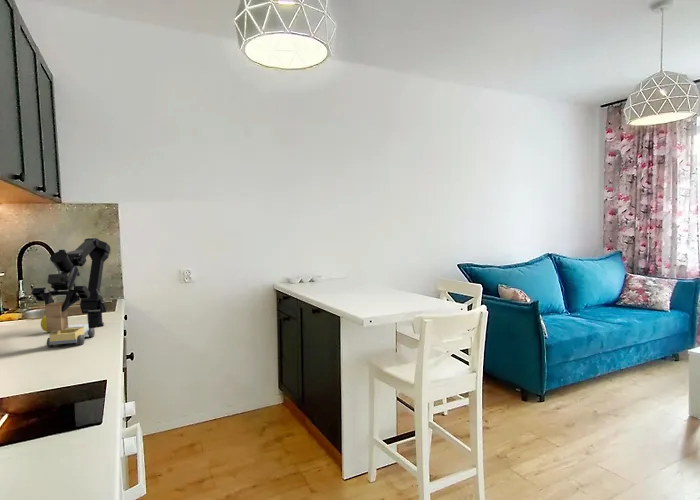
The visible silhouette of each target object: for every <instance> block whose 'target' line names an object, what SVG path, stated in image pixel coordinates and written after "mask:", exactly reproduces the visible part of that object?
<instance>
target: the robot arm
mask: <svg viewBox="0 0 700 500" xmlns="http://www.w3.org/2000/svg"><path fill="white" fill-rule="evenodd" d="M110 253H111V245H109V244H108V242H106V241H102V240H100V239H99V238H96V237H93V238H92V237H91V238H90V237H88V238H85V239H84V240H83V242H82V243H81V244H80V245H79V246H78V247H77V248H76V249H74V250H71V251H68V252H67V250H65V249H58V251H57V252H54V253H53V254H52V255H50V257H49V260H50V262H51V263H52V264H53V266H54V267H55V269H56V270H57V271H58V272H60V273H55V274H54V273H52V274H48V277H47V282H46V283H47V284H49V285H51V286H50V288H51V289H49V288H46V287H45V286H44V287H39V286H38V287H33V288H32V290H31V292H30V294H31V295H32V297H33V298H34V299H35V300H36V301H38V302H44V306H45V305H47V304H49V303H52V302H55V300H54V299H53V297H54V296H55V297H64V296H65V299H64V301H63V302H64V304H63V306H62V310H61V311H62V312H64V311H65V310H66V309H67V310H68V308H70V307H71V306H73V305H74V304H75V303H77V302H79V306H80V310H81V314H82V315H83V314H86V315H87V318H86V319H87V324H88V326H89V328H97V327H104V326H105V324H104V322H103V313H106V312H107V307H108V306H107V305H106V303H105V301H104V297H103V295H102V294H101V285H102V278H103V272H104V263H105V261H107V260H108V259H109V256H110ZM88 256H89V257H90V259H91V263H90V264H91V265H90V272H89V278H88V285H77V284H76V283H75V282H76V280H77V277H80V275H81V274H80V271H79V269H78V267H84V265H85V263H86V262H87V257H88Z"/></svg>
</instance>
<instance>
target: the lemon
mask: <svg viewBox="0 0 700 500" xmlns="http://www.w3.org/2000/svg"><path fill="white" fill-rule="evenodd" d="M40 327H41V329H42V330H43V331H44V332H47V324H46V315H44V316H43V317H41V321H40ZM51 332H52V331H48V332H47V333H50V334H51Z"/></svg>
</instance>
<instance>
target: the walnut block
mask: <svg viewBox="0 0 700 500" xmlns="http://www.w3.org/2000/svg"><path fill="white" fill-rule="evenodd" d="M63 304H64V301H56V302H55V301H54V302H52V303H49V304H47V305H45V304H44V309H45V312H44V313H45V316H46V324H47V331H46V332H47V333H48V331H51V332H56V331H62V330H64V329H66V328H68V325H69V320H68V319H69V318H68V308H67V309H66V310H65V311H64V312H62V311H61V310H62V306H63Z"/></svg>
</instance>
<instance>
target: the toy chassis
mask: <svg viewBox="0 0 700 500" xmlns="http://www.w3.org/2000/svg"><path fill="white" fill-rule="evenodd" d="M95 333H96V332H95V327H90V328H89V326H88V323H80V324H68V328H66V329H64V330H62V331H53V332H52V333H50V334H49V335H48V336H49V337H48V338H47V339H46V347H48V348H53V347H54V346H55V345H63V344H77V345H80V346H81V345H84V344H85V341H86V340H85V337H87V336H88V338H94V337H95V335H96V334H95Z"/></svg>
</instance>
